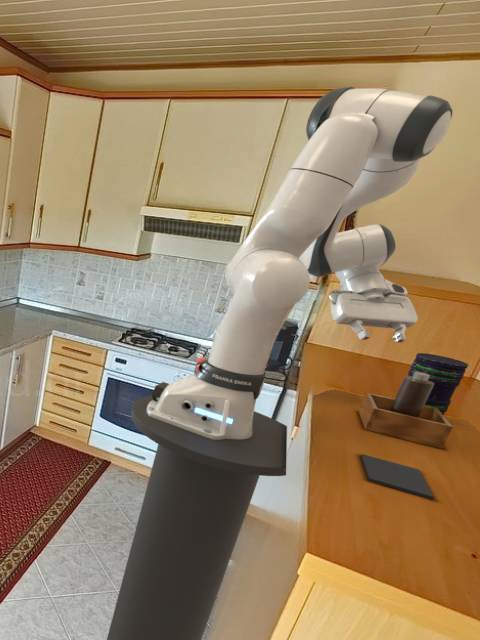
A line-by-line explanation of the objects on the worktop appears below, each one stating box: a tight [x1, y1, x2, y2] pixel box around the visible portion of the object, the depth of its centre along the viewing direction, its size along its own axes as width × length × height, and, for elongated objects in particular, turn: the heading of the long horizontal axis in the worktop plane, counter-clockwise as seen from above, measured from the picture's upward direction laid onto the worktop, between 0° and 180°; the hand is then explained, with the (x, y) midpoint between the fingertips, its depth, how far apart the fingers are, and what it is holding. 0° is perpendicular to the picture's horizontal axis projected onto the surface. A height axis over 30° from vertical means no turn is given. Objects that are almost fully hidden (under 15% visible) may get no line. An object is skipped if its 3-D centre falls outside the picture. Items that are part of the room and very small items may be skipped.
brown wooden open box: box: [358, 392, 454, 450], centre depth 113 cm, size 14×14×5 cm
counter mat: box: [360, 453, 435, 500], centre depth 90 cm, size 9×12×1 cm
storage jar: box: [407, 352, 469, 417], centre depth 123 cm, size 10×10×15 cm
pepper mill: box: [390, 372, 434, 418], centre depth 111 cm, size 5×5×13 cm
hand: (382, 339), depth 119 cm, fingers open, 8 cm apart
